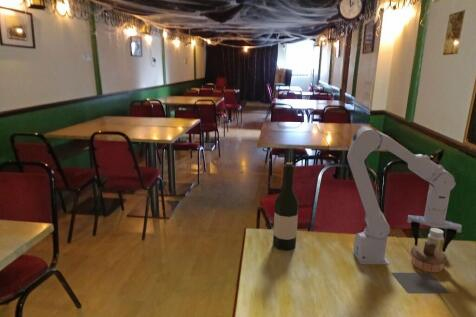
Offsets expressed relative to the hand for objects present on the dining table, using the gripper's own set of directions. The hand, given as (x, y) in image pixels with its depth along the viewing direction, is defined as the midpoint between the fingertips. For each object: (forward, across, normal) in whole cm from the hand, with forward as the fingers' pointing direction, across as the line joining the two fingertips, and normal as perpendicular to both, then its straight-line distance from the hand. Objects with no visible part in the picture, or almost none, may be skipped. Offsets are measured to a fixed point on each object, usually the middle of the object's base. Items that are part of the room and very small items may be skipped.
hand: (429, 247), depth 109 cm
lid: (+3, 0, -1) cm, 3 cm away
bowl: (+6, 0, 0) cm, 6 cm away
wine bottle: (+6, -45, -11) cm, 46 cm away
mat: (+6, -2, -13) cm, 14 cm away
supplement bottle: (+6, +2, +10) cm, 12 cm away
